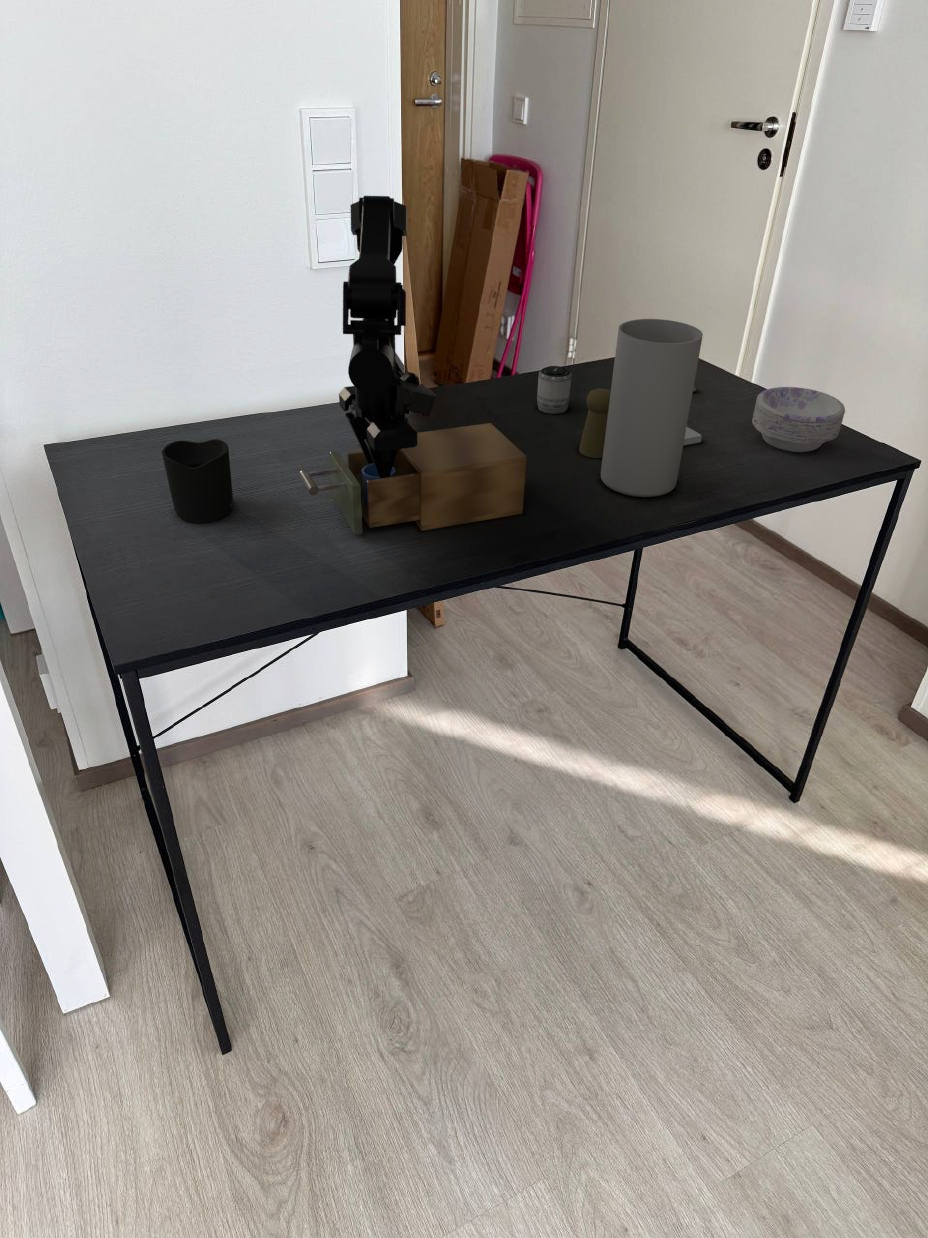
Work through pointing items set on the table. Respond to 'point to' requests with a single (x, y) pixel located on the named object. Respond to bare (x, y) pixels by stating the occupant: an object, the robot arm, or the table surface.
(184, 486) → the pen holder
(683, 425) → the cylinder vase
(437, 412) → the table surface
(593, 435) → the cork
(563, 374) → the camera lens
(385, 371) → the robot arm
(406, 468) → the drawer
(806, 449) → the paper bowls
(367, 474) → the cup
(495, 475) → the cabinet
